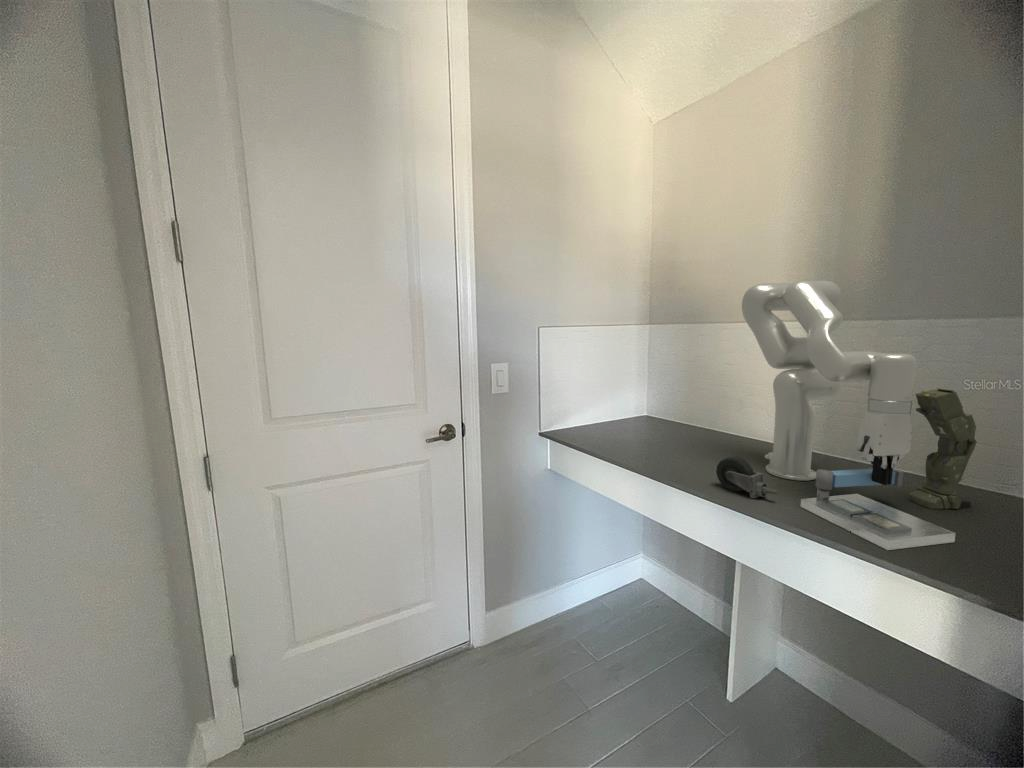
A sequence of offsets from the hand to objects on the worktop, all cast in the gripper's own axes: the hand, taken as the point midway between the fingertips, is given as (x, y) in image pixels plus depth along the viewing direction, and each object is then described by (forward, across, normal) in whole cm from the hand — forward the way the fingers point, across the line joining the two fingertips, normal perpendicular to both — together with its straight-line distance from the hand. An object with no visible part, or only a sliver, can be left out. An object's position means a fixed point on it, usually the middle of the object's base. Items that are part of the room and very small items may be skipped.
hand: (881, 482), depth 95 cm
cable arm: (+2, +3, -3) cm, 5 cm away
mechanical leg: (+7, -17, 0) cm, 18 cm away
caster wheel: (+7, +23, -15) cm, 29 cm away
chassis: (+7, +8, +5) cm, 12 cm away
